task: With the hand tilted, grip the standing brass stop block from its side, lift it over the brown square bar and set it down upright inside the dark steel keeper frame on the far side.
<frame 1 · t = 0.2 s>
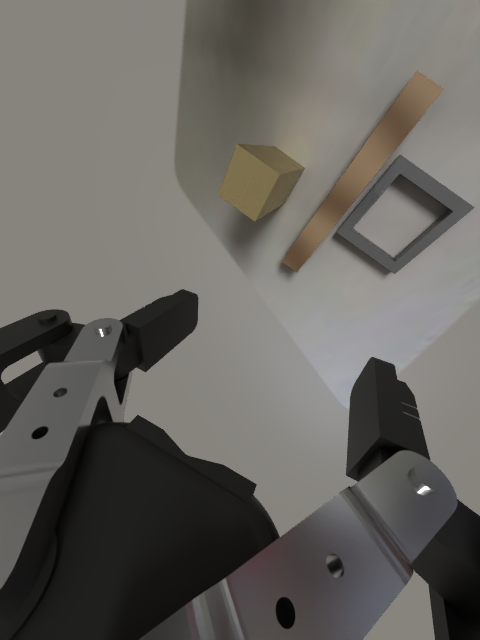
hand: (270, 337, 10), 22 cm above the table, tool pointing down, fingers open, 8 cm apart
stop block: (279, 176, 26), on the table
brown square bar: (342, 194, 25), on the table
keeper: (396, 218, 24), on the table
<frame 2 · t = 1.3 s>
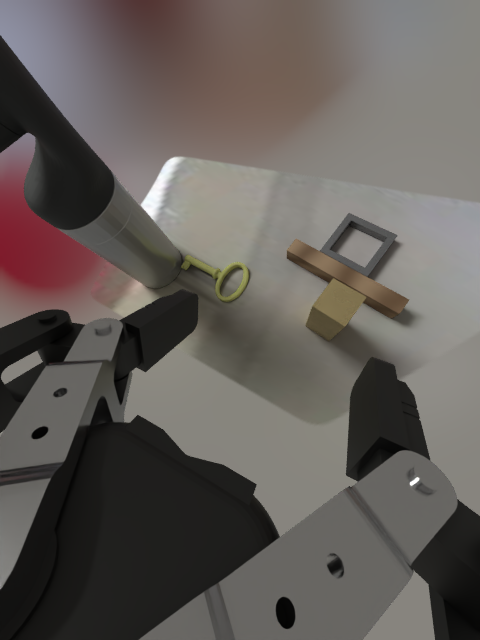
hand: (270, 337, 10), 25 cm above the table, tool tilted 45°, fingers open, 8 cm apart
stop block: (324, 322, 34), on the table
key: (218, 277, 41), on the table
brown square bar: (339, 280, 35), on the table
keeper: (355, 247, 36), on the table
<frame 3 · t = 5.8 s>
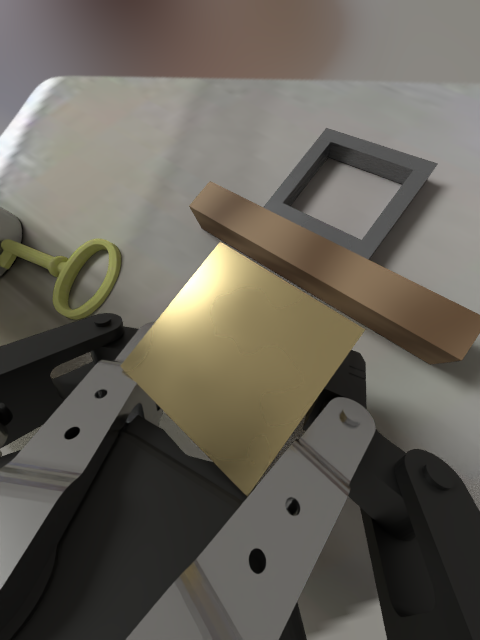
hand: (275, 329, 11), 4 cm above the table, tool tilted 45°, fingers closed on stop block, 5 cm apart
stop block: (268, 370, 15), on the table, touching gripper
key: (72, 273, 21), on the table
brown square bar: (305, 270, 16), on the table
keeper: (341, 200, 17), on the table
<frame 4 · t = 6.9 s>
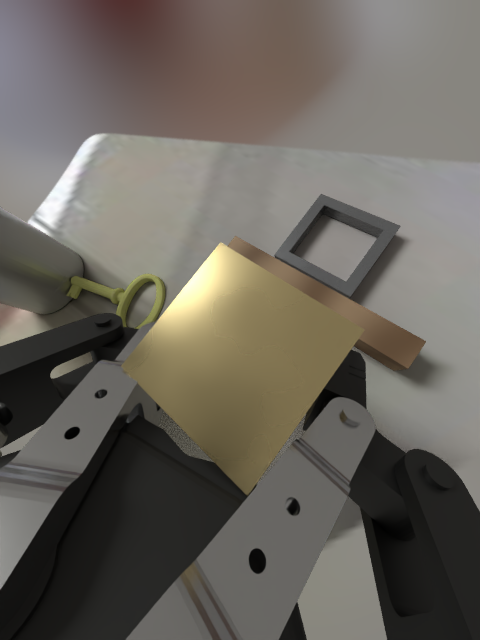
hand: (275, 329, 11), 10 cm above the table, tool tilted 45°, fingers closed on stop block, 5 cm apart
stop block: (268, 370, 15), point 6 cm above the table, touching gripper
key: (125, 300, 27), on the table
brown square bar: (306, 301, 22), on the table
keeper: (332, 248, 22), on the table
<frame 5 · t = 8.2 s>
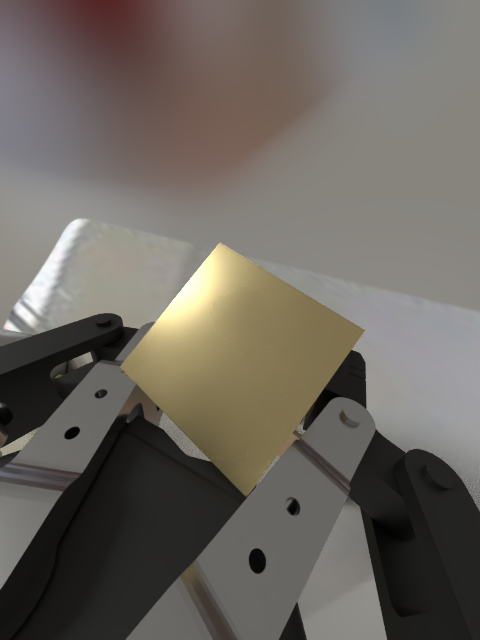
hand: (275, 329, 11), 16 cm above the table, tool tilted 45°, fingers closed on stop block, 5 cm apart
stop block: (268, 370, 15), point 12 cm above the table, touching gripper
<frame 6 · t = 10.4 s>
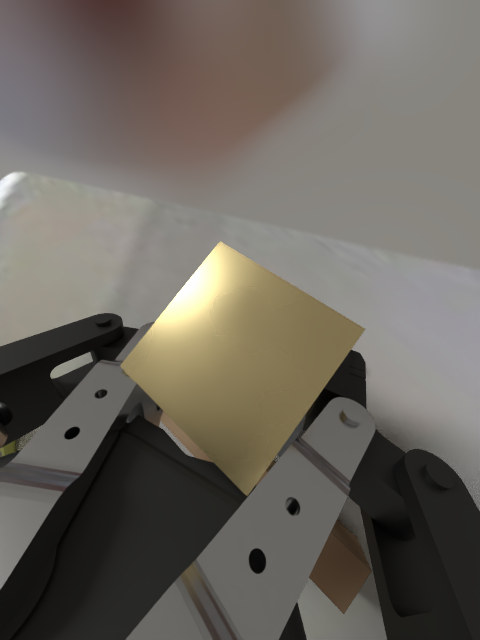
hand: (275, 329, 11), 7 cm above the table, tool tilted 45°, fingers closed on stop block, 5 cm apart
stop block: (268, 370, 15), point 3 cm above the table, touching gripper
brown square bar: (231, 445, 16), on the table
when the fingers open (6 cm above the table, at t = 11.3 s): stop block drops 1 cm, resting in keeper.
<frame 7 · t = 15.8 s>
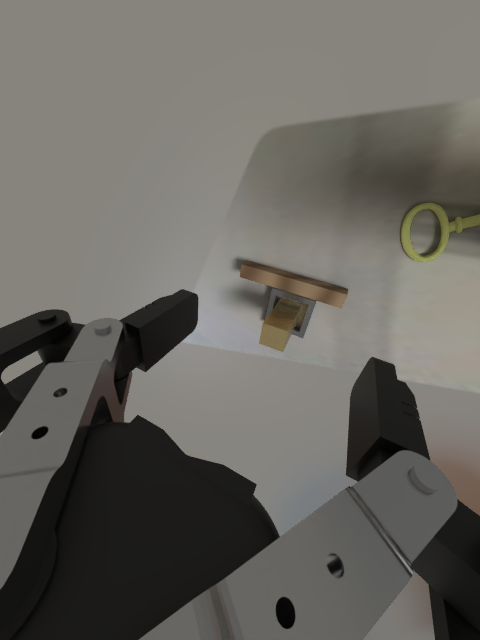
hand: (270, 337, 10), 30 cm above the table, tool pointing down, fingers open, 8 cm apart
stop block: (289, 310, 43), resting in keeper
key: (454, 223, 28), on the table
brown square bar: (292, 280, 40), on the table
keeper: (289, 310, 43), on the table
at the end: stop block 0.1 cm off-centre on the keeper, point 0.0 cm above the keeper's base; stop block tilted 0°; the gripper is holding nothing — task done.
